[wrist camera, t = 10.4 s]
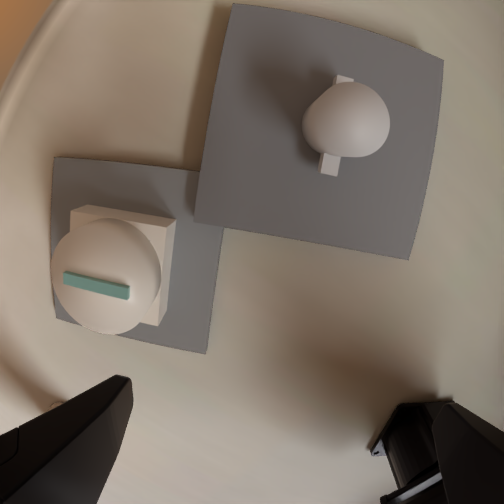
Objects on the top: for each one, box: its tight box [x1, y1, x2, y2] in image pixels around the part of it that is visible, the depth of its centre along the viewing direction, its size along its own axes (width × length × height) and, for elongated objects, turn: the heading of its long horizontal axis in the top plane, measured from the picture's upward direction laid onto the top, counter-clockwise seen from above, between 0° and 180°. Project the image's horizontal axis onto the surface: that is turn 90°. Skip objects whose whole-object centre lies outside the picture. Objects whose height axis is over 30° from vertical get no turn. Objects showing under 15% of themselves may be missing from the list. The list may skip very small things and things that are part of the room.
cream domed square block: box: [51, 205, 177, 335], centre depth 16 cm, size 6×6×4 cm
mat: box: [51, 157, 224, 354], centre depth 18 cm, size 11×11×1 cm
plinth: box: [193, 3, 444, 260], centre depth 14 cm, size 12×12×6 cm
